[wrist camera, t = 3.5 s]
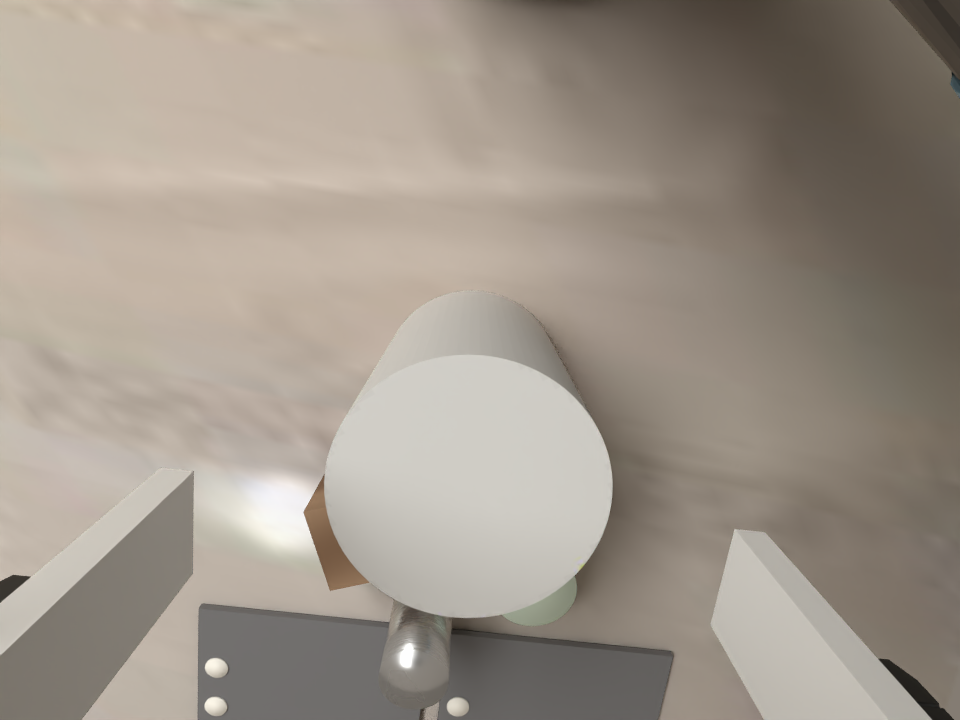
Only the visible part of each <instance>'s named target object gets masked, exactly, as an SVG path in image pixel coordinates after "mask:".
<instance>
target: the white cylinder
mask: <svg viewBox="0 0 960 720" xmlns="http://www.w3.org/2000/svg"><path fill="white" fill-rule="evenodd" d="M612 486H613V483H612V471H611V465H610V460H609V456H608V452H607V449H606V446H605V443H604V441H603V438H602V436H601V434H600V432H599V430H598V428H597V426H596V424H595V423H594V421H593V419H592V417H591V415H590V413H589V411H588V410H587V408H586V406H585V404H584V402H583V400H582V398H581V397H580V395H579V393H578V391H577V389H576V387H575V385H574V383H573V382H572V380H571V378H570V376H569V374H568V372H567V370H566V369H565V367H564V365H563V363H562V361H561V359H560V357H559V356H558V354H557V352H556V350H555V348H554V346H553V344H552V343H551V341H550V339H549V337H548V335H547V333H546V332H545V330H544V328H543V327H542V326H541V324H540V323H539V322H538V321H537V319H536V318H535V317H534V316H533V315H532V314H531V313H530V312H528V311H527V310H526V309H525V308H523V307H522V306H520V305H519V304H517V303H516V302H514V301H512V300H510V299H508V298H506V297H503V296H500V295H497V294H494V293H490V292H484V291H458V292H453V293H449V294H445V295H442V296H439V297H437V298H435V299H432V300H430V301H429V302H427V303H425V304H424V305H422V306H421V307H419V308H418V309H417V310H415V311H414V312H413V313H412V314H411V315H410V316H409V317H408V318H407V319H406V320H405V321H404V323H403V324H402V325H401V326H400V328H399V329H398V331H397V333H396V334H395V336H394V338H393V339H392V341H391V342H390V344H389V346H388V347H387V349H386V351H385V352H384V354H383V356H382V357H381V359H380V361H379V362H378V364H377V366H376V367H375V369H374V371H373V372H372V374H371V376H370V377H369V379H368V381H367V382H366V384H365V386H364V387H363V389H362V390H361V392H360V394H359V395H358V397H357V399H356V400H355V402H354V404H353V405H352V407H351V409H350V410H349V412H348V414H347V415H346V417H345V419H344V420H343V422H342V424H341V426H340V427H339V429H338V431H337V433H336V435H335V438H334V440H333V442H332V445H331V448H330V451H329V454H328V459H327V463H326V469H325V479H324V495H325V504H326V509H327V514H328V518H329V521H330V525H331V527H332V530H333V533H334V535H335V537H336V539H337V541H338V543H339V545H340V547H341V549H342V550H343V552H344V554H345V555H346V556H347V558H348V559H349V561H350V562H351V563H352V564H353V566H354V567H355V568H356V569H357V570H358V571H359V572H360V574H361V575H362V576H363V577H364V578H366V579H367V580H368V581H369V582H370V583H371V584H372V585H374V586H375V587H376V588H378V589H379V590H380V591H382V592H383V593H385V594H386V595H388V596H390V597H391V598H393V599H395V600H397V601H399V602H401V603H403V604H405V605H407V606H410V607H412V608H415V609H417V610H421V611H424V612H427V613H431V614H435V615H441V616H447V617H456V618H481V617H491V616H496V615H502V614H506V613H510V612H513V611H516V610H520V609H522V608H525V607H527V606H530V605H532V604H534V603H536V602H538V601H540V600H542V599H544V598H546V597H548V596H549V595H551V594H552V593H554V592H555V591H557V590H558V589H559V588H561V587H562V586H563V585H565V584H566V583H567V582H568V581H569V580H570V579H571V578H573V577H574V576H575V575H576V574H577V572H578V571H579V570H580V569H581V568H582V567H583V566H584V564H585V563H586V562H587V561H588V559H589V558H590V556H591V555H592V553H593V552H594V550H595V548H596V547H597V545H598V543H599V541H600V539H601V537H602V535H603V532H604V530H605V527H606V524H607V521H608V517H609V513H610V508H611V502H612Z"/></svg>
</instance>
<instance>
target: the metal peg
mask: <svg viewBox="0 0 960 720" xmlns="http://www.w3.org/2000/svg"><path fill="white" fill-rule="evenodd" d="M451 631H452V617H447V616H441V615H435V614H431V613H427V612H424V611H421V610H417V609H415V608H412V607H410V606H407V605H405V604H403V603H401V602H399V601H397V600H395V599H394V603H393V608H392V613H391V618H390V623H389V628H388V632H387V637H386V642H385V647H384V652H383V657H382V662H381V667H380V671H379V677H378V682H379V687H380V690H381V692H382V693H383V695H384V696H385V697H386V699H388V700H389V701H390V702H391V703H393V704H394V705H396V706H399V707H401V708H405V709H413V710H416V709H424V708H427V707H430V706H432V705H434V704H436V703H437V702H438V701H439V700H440V699H441V698H442V697H443V696H444V695H445V693H446V691H447V688H448V684H449V666H450V648H451Z"/></svg>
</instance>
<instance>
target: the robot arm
mask: <svg viewBox="0 0 960 720" xmlns="http://www.w3.org/2000/svg"><path fill="white" fill-rule="evenodd" d="M890 1H891V2H892V3H893V4H894V6H895V7H896V8H897V9H898V10H899V11H900V12H901V14H902V15H903V16H904V17H905V18H906V19H907V20H908V22H909V23H910V24H911V25H912V26H913V27H914V29H915V30H916V31H917V32H918V33H919V34H920V35H921V37H922V38H923V39H924V40H925V41H926V42H927V43H928V45H929V46H930V47H931V48H932V49H933V50H934V51H935V53H936V54H937V55H938V56H939V57H940V58H941V60H942V61H943V62H944V63H945V64H946V65H947V66H948V68H949V69H950V70H951V71H952V78H951V83H950V85H951V86H952V88H953V89H954V91H955V92H956V94H957V95H958V97H959V99H960V0H890ZM193 491H194V471H188V470H179V469H169V468H160V469H159V470H157V471H156V472H155V473H154V474H153V475H151V476H150V477H149V478H148V479H147V480H145V481H144V482H143V483H142V484H141V485H140V486H138V487H137V488H136V489H135V490H134V491H132V492H131V493H130V494H129V495H128V496H126V497H125V498H124V499H123V500H122V501H121V502H119V503H118V504H117V505H116V506H115V507H113V508H112V509H111V510H110V511H109V512H108V513H106V514H105V515H104V516H103V517H102V518H100V519H99V520H98V521H97V522H96V523H94V524H93V525H92V526H91V527H90V528H89V529H87V530H86V531H85V532H84V533H83V534H81V535H80V536H79V537H78V538H77V539H75V540H74V541H73V542H72V543H71V544H70V545H68V546H67V547H66V548H65V549H64V550H62V551H61V552H60V553H59V554H58V555H56V556H55V557H54V558H53V559H52V560H51V561H49V562H48V563H47V564H46V565H45V566H43V567H42V568H41V569H40V570H39V571H37V572H36V573H35V574H34V575H33V576H32V577H29V576H19V575H12V576H10V577H8V578H6V579H4V580H2V581H0V720H82V718H83V717H84V716H85V714H86V713H87V712H88V711H89V709H90V708H91V707H92V705H93V704H94V703H95V701H96V700H97V699H98V697H99V696H100V695H101V693H102V692H103V691H104V689H105V688H106V687H107V686H108V684H109V683H110V682H111V680H112V679H113V678H114V676H115V675H116V674H117V672H118V671H119V670H120V668H121V667H122V666H123V664H124V663H125V662H126V661H127V659H128V658H129V657H130V655H131V654H132V653H133V651H134V650H135V649H136V647H137V646H138V645H139V643H140V642H141V641H142V639H143V638H144V637H145V636H146V634H147V633H148V632H149V630H150V629H151V628H152V626H153V625H154V624H155V622H156V621H157V620H158V618H159V617H160V616H161V614H162V613H163V612H164V611H165V609H166V608H167V607H168V605H169V604H170V603H171V601H172V600H173V599H174V597H175V596H176V595H177V593H178V592H179V591H180V589H181V588H182V587H183V586H184V584H185V583H186V582H187V580H188V579H189V578H190V576H191V575H192V574H193ZM711 627H712V629H713V630H714V632H715V634H716V636H717V637H718V639H719V641H720V643H721V645H722V646H723V648H724V650H725V652H726V653H727V655H728V657H729V659H730V660H731V662H732V664H733V666H734V668H735V669H736V671H737V673H738V675H739V676H740V678H741V680H742V682H743V683H744V685H745V687H746V689H747V691H748V692H749V694H750V696H751V698H752V699H753V701H754V703H755V705H756V706H757V708H758V710H759V712H760V714H761V715H762V717H763V719H764V720H954V719H953V718H952V717H951V716H950V715H949V714H948V713H947V712H946V711H945V710H944V708H940V707H939V703H938V702H937V701H936V700H935V699H934V698H933V697H932V696H931V695H930V694H929V692H928V691H927V690H926V689H925V688H924V687H923V686H922V685H921V684H920V683H919V682H918V681H917V680H916V679H915V678H913V677H912V676H910V675H909V674H908V673H906V672H905V671H904V670H902V669H901V668H899V667H898V666H897V665H895V664H894V663H893V662H891V661H890V660H887V659H878V658H877V657H876V656H875V655H874V654H873V653H872V652H871V651H870V649H869V648H868V647H867V646H866V645H865V644H864V643H863V642H862V640H861V639H860V638H859V637H858V636H857V635H856V634H855V633H854V631H853V630H852V629H851V628H850V627H849V626H848V625H847V624H846V623H845V621H844V620H843V619H842V618H841V617H840V616H839V615H838V614H837V612H836V611H835V610H834V609H833V608H832V607H831V606H830V605H829V603H828V602H827V601H826V600H825V599H824V598H823V597H822V596H821V594H820V593H819V592H818V591H817V590H816V589H815V588H814V587H813V585H812V584H811V583H810V582H809V581H808V580H807V579H806V578H805V577H804V575H803V574H802V573H801V572H800V571H799V570H798V569H797V568H796V566H795V565H794V564H793V563H792V562H791V561H790V560H789V559H788V557H787V556H786V555H785V554H784V553H783V552H782V551H781V550H780V548H779V547H778V546H777V545H776V544H775V543H774V542H773V541H772V540H771V538H770V537H769V536H768V535H767V534H766V533H765V532H758V531H749V530H740V529H734V533H733V537H732V541H731V545H730V549H729V553H728V557H727V561H726V565H725V569H724V573H723V577H722V581H721V585H720V589H719V593H718V597H717V601H716V605H715V609H714V613H713V617H712V621H711Z"/></svg>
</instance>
